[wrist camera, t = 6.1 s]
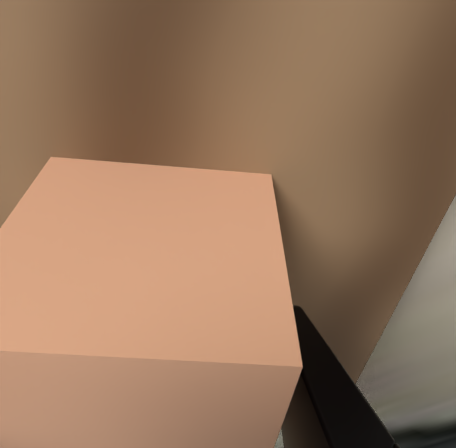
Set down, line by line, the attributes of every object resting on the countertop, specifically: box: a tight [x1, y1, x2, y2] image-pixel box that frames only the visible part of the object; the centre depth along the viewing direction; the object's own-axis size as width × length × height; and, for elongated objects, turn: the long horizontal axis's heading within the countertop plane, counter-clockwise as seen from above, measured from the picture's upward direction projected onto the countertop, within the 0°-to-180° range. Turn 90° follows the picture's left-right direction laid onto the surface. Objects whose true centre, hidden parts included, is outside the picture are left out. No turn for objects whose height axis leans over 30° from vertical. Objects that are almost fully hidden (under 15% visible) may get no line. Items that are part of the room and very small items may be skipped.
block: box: [0, 157, 303, 448], centre depth 9 cm, size 5×5×5 cm
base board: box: [0, 0, 456, 384], centre depth 12 cm, size 14×14×2 cm
